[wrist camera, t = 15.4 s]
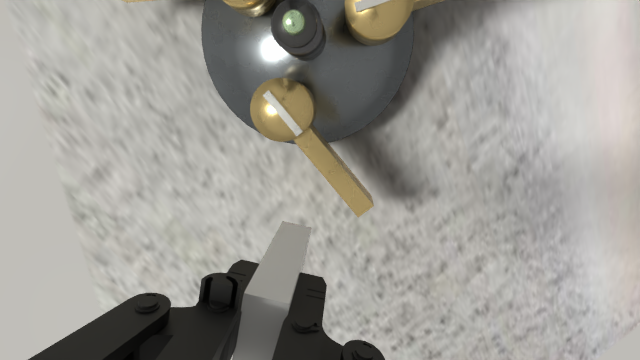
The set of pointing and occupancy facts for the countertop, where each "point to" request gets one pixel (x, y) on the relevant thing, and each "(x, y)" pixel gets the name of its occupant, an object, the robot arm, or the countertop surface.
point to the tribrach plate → (326, 78)
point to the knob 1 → (243, 6)
